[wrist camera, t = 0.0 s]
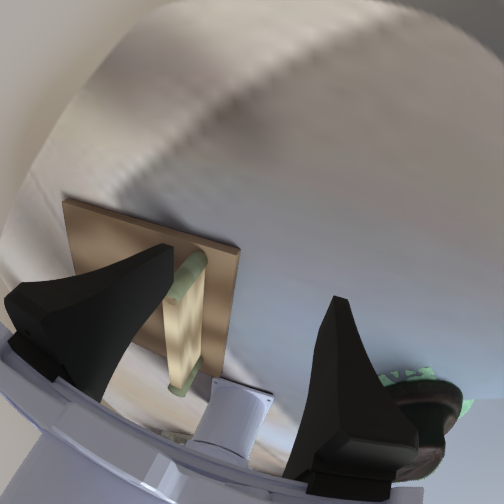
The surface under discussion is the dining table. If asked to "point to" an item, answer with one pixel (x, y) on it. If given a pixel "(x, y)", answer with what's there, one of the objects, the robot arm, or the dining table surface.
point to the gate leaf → (185, 323)
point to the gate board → (216, 272)
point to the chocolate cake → (426, 417)
